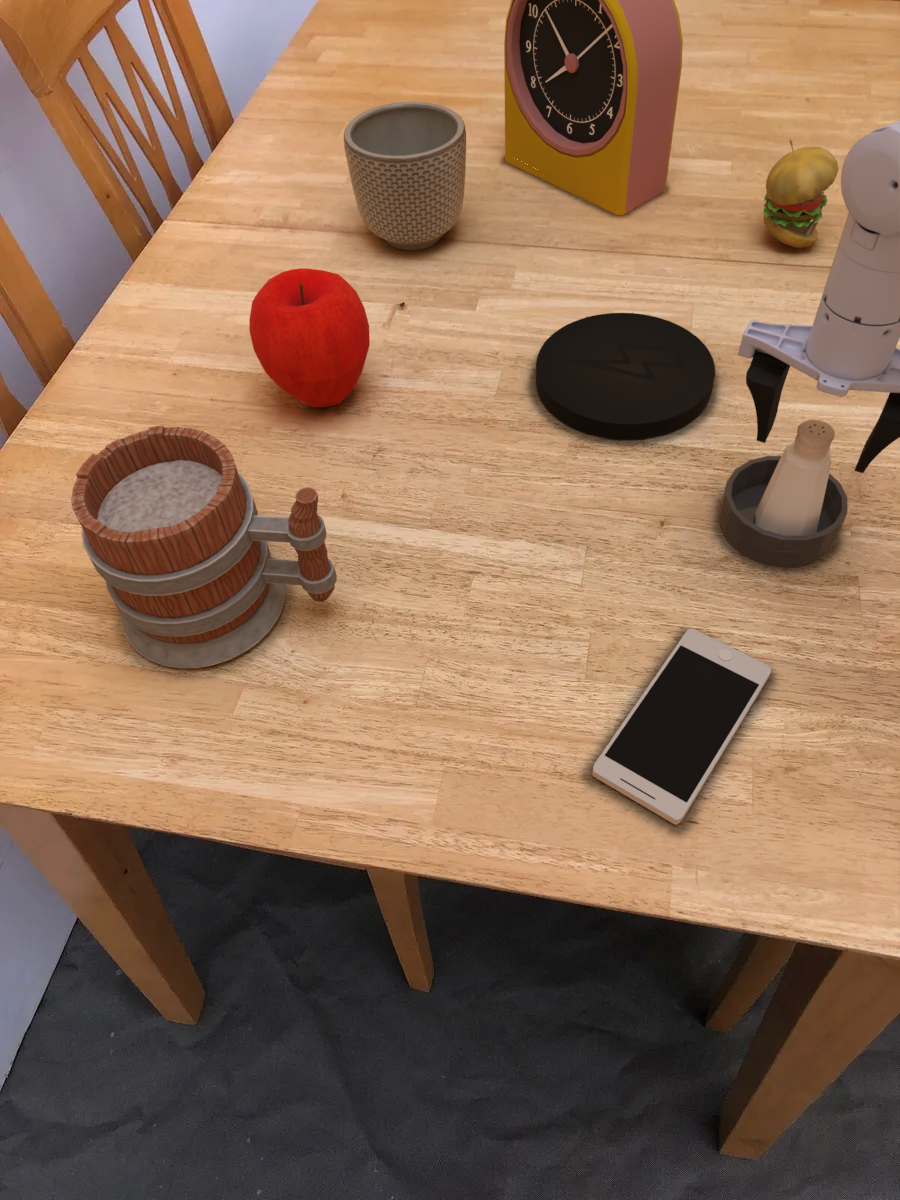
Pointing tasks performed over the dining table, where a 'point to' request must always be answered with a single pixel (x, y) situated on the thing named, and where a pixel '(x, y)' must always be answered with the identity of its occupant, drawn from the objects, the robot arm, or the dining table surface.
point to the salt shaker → (798, 483)
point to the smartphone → (681, 725)
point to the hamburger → (798, 194)
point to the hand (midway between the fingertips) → (812, 448)
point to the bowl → (770, 546)
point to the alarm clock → (593, 95)
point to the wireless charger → (624, 376)
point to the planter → (407, 171)
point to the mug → (192, 546)
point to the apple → (310, 335)
